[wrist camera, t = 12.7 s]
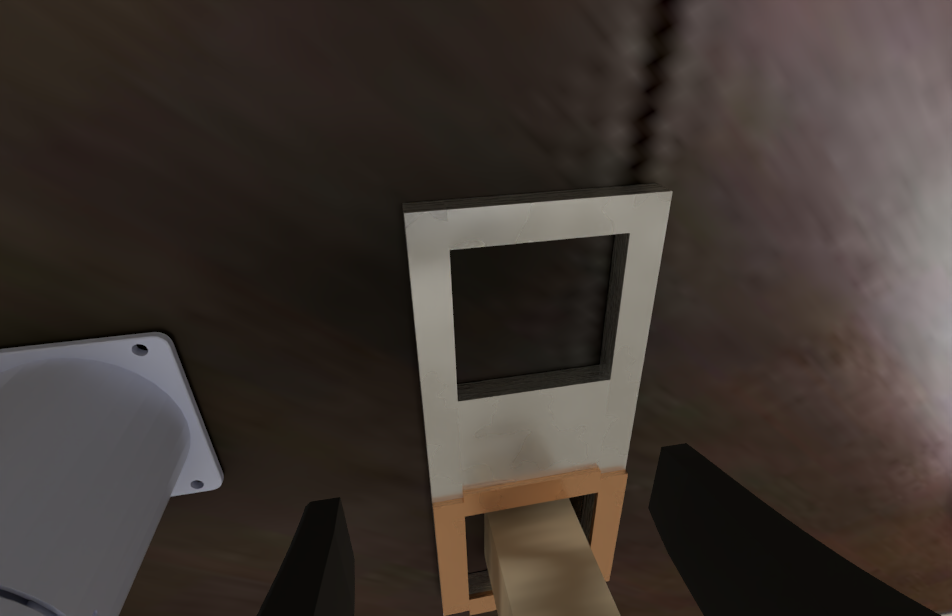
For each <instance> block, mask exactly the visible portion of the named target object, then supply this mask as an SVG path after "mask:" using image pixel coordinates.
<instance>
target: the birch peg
mask: <svg viewBox="0 0 952 616" xmlns="http://www.w3.org/2000/svg"><path fill="white" fill-rule="evenodd" d="M484 556H485V560H486V564H487V569H488V573H489V578H490V582H491V586H492V591H493V595H494V600H495V604H496V608H497V613H498V616H620V614H619V612H618V609H617V607H616V605H615V602H614V600H613V598H612V596H611V593H610V591H609V589H608V586H607V584H606V582H605V580H604V577H603V575H602V573H601V571H600V568H599V566H598V564H597V561H596V559H595V557H594V555H593V552H592V550H591V548H590V546H589V543H588V541H587V539H586V536H585V534H584V532H583V530H582V527H581V525H580V523H579V520H578V518H577V516H576V514H575V511H574V509H573V507H572V505H571V502H570V500H569V498H565V499H559V500H554V501H548V502H543V503H537V504H532V505H526V506H520V507H515V508H509V509H504V510H498V511H493V512H487V513H484Z"/></svg>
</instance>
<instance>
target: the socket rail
mask: <svg viewBox="0 0 952 616" xmlns="http://www.w3.org/2000/svg"><path fill="white" fill-rule="evenodd" d="M672 192H673V191H671V190H669V189H667V188H665V187H663V186H661V185H659V184H657V183H652V184H640V185H627V186H614V187H602V188H589V189H576V190H564V191H551V192H538V193H526V194H513V195H501V196H488V197H475V198H463V199H450V200H437V201H425V202H412V203H402V209H403V219H404V229H405V239H406V249H407V259H408V269H409V280H410V290H411V300H412V310H413V320H414V330H415V340H416V350H417V360H418V370H419V380H420V390H421V400H422V410H423V420H424V431H425V441H426V451H427V461H428V471H429V481H430V491H431V501H432V511H433V521H434V531H435V541H436V551H437V561H438V572H439V582H440V592H441V600H442V608H443V615H444V616H445V615H450V614H455V613H460V612H464V611H469V613H470V615H474V614H479V613H483V612H488V611H493V610H497V608H496V604H495V600H494V595H493V591H492V586H491V582H490V578H489V573H488V570H487V571H482V572H477V573H472V574H468V569H467V550H466V531H465V516H471V515H476V514H482V513H487V512H493V511H498V510H504V509H509V508H515V507H520V506H526V505H532V504H537V503H543V502H548V501H554V500H559V499H565V498H570V497H576V496H581V495H584V501H583V510H582V518H581V527H582V530H583V532H584V534H585V536H586V539H587V541H588V543H589V546H590V548H591V550H592V552H593V555H594V557H595V559H596V561H597V564H598V566H599V568H600V571H601V573H602V575H603V577H604V580H605V582H606V581H609V579H610V573H611V567H612V562H613V556H614V550H615V545H616V539H617V533H618V527H619V522H620V516H621V510H622V505H623V499H624V493H625V487H626V482H627V476H628V473H627V472H626V470H625V468H626V462H627V456H628V450H629V444H630V438H631V432H632V427H633V421H634V415H635V409H636V403H637V397H638V391H639V385H640V380H641V374H642V368H643V362H644V356H645V350H646V344H647V338H648V333H649V327H650V321H651V315H652V309H653V303H654V297H655V291H656V286H657V280H658V274H659V268H660V262H661V256H662V250H663V244H664V239H665V233H666V227H667V221H668V215H669V209H670V203H671V197H672ZM613 234H615V239H614V247H613V256H612V264H611V273H610V281H609V290H608V298H607V307H606V315H605V324H604V332H603V340H602V349H601V357H600V365H593V366H586V367H579V368H572V369H564V370H557V371H550V372H543V373H536V374H528V375H521V376H514V377H507V378H499V379H492V380H485V381H478V382H471V383H463V384H457V378H456V359H455V341H454V322H453V304H452V285H451V267H450V250H455V249H466V248H476V247H487V246H497V245H508V244H518V243H529V242H539V241H550V240H560V239H571V238H581V237H592V236H602V235H613Z"/></svg>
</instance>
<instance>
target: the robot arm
mask: <svg viewBox="0 0 952 616" xmlns="http://www.w3.org/2000/svg"><path fill="white" fill-rule="evenodd" d="M136 344H142V345H144V346H146V347H147V349H148V350H141V349H139V348H138V347H137V345H136ZM223 479H224V474H223V472H222V469H221V467H220V464H219V461H218V459H217V456H216V454H215V451H214V448H213V446H212V443H211V440H210V438H209V435H208V433H207V430H206V427H205V425H204V422H203V420H202V417H201V414H200V412H199V409H198V406H197V404H196V401H195V399H194V396H193V393H192V391H191V388H190V386H189V383H188V380H187V378H186V375H185V372H184V370H183V367H182V365H181V362H180V359H179V357H178V354H177V352H176V349H175V346H174V344H173V341H172V340H171V338H170V337H169V336H167V335H166V334H163V333H160V332H149V333H140V334H131V335H122V336H113V337H104V338H95V339H86V340H77V341H68V342H59V343H50V344H41V345H32V346H23V347H14V348H5V349H0V616H119V613H120V611H121V609H122V607H123V604H124V602H125V600H126V597H127V595H128V593H129V590H130V588H131V586H132V583H133V581H134V579H135V577H136V574H137V572H138V570H139V567H140V565H141V563H142V560H143V558H144V556H145V554H146V551H147V549H148V547H149V544H150V542H151V540H152V537H153V535H154V533H155V531H156V528H157V526H158V524H159V521H160V519H161V517H162V514H163V512H164V510H165V508H166V505H167V503H168V501H169V498H170V497H171V496H178V495H184V494H190V493H196V492H203V491H209V490H214V489H217V488H219V487H220V486H221V484H222V482H223ZM195 480H199V481H202V482H197V481H195ZM648 508H649V510H650V513H651V515H652V518H653V520H654V522H655V525H656V527H657V530H658V532H659V534H660V536H661V539H662V541H663V543H664V545H665V547H666V550H667V552H668V554H669V556H670V557H671V559H672V561H673V563H674V564H675V566H676V568H677V570H678V571H679V573H680V575H681V577H682V578H683V580H684V582H685V584H686V585H687V587H688V589H689V591H690V592H691V594H692V596H693V598H694V599H695V601H696V603H697V604H698V606H699V608H700V610H701V611H702V613H703V615H704V616H941V615H939V614H937V613H935V612H934V611H932V610H930V609H928V608H926V607H925V606H923V605H921V604H919V603H918V602H916V601H914V600H912V599H910V598H909V597H907V596H905V595H904V594H902V593H900V592H899V591H897V590H895V589H894V588H892V587H890V586H889V585H887V584H885V583H884V582H882V581H880V580H879V579H877V578H875V577H874V576H872V575H870V574H869V573H867V572H865V571H864V570H862V569H861V568H859V567H857V566H856V565H854V564H853V563H851V562H850V561H848V560H846V559H845V558H843V557H842V556H840V555H839V554H837V553H836V552H834V551H833V550H831V549H830V548H828V547H827V546H825V545H824V544H822V543H821V542H819V541H818V540H816V539H815V538H813V537H812V536H810V535H809V534H808V533H806V532H805V531H803V530H802V529H800V528H799V527H798V526H796V525H795V524H793V523H792V522H790V521H789V520H788V519H786V518H785V517H783V516H782V515H781V514H779V513H778V512H777V511H775V510H774V509H772V508H771V507H770V506H768V505H767V504H766V503H764V502H763V501H762V500H760V499H759V498H758V497H756V496H755V495H754V494H752V493H751V492H750V491H748V490H747V489H746V488H744V487H743V486H742V485H740V484H739V483H738V482H736V481H735V480H734V479H733V478H731V477H730V476H729V475H727V474H726V473H725V472H723V471H722V470H721V469H720V468H718V467H717V466H716V465H714V464H713V463H712V462H710V461H709V460H708V459H706V458H705V457H704V456H703V455H701V454H700V453H699V452H697V451H696V450H695V449H693V448H692V447H691V446H689V445H688V444H686V443H685V444H679V445H672V446H666V447H661V452H660V457H659V461H658V466H657V470H656V475H655V480H654V484H653V489H652V493H651V498H650V503H649V507H648ZM354 596H355V575H354V555H353V551H352V546H351V542H350V537H349V533H348V529H347V524H346V520H345V516H344V511H343V507H342V503H341V498H340V497H339V498H332V499H326V500H319V501H313V502H310V503H309V504H308V505H307V506H306V507H305V510H304V512H303V515H302V518H301V520H300V523H299V525H298V528H297V530H296V533H295V535H294V538H293V540H292V542H291V545H290V547H289V549H288V552H287V554H286V556H285V558H284V560H283V563H282V565H281V567H280V569H279V571H278V574H277V576H276V578H275V580H274V582H273V584H272V586H271V588H270V590H269V592H268V594H267V596H266V598H265V600H264V602H263V604H262V606H261V608H260V610H259V612H258V614H257V616H354Z"/></svg>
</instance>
